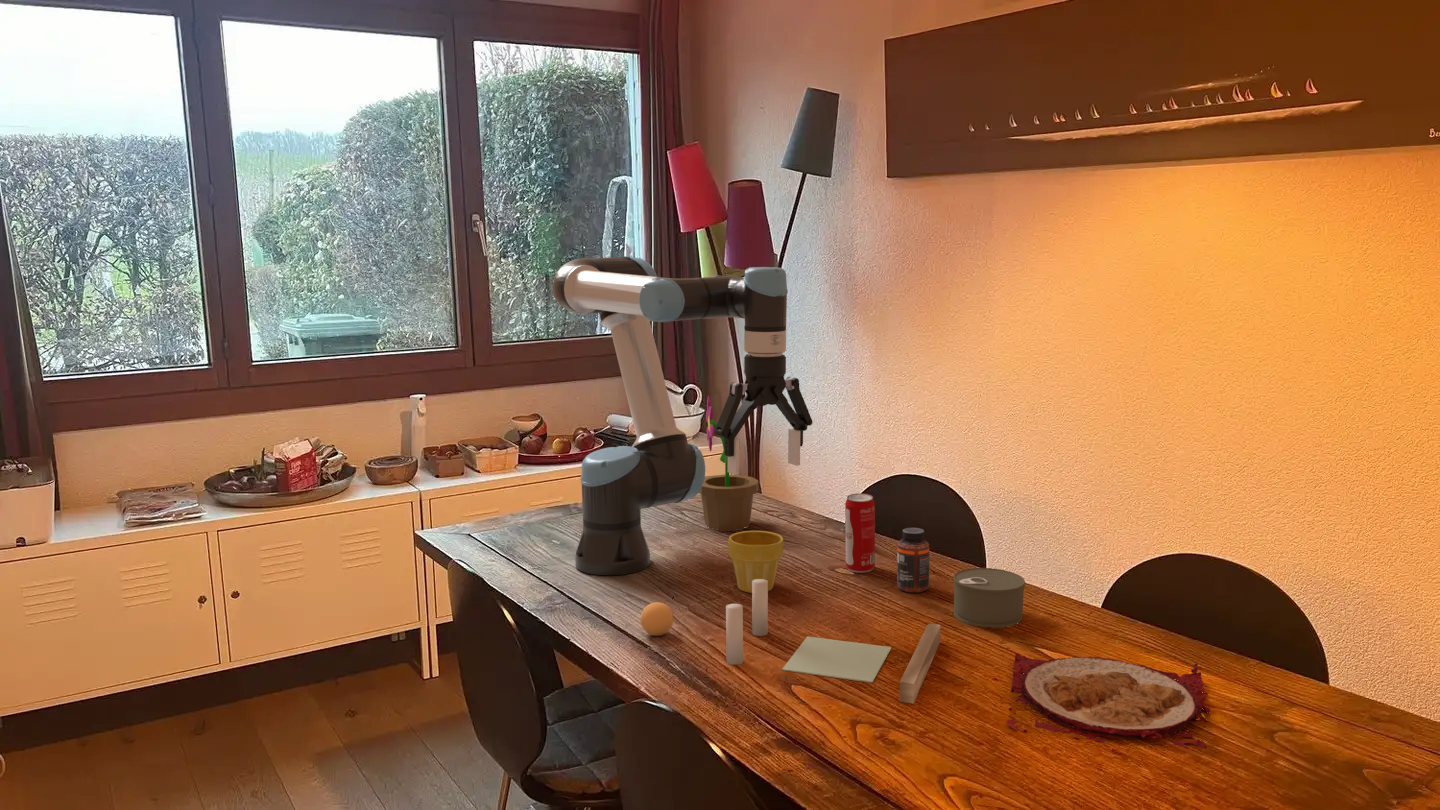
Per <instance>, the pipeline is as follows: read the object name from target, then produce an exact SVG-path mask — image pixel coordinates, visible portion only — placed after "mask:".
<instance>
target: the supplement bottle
mask: <svg viewBox="0 0 1440 810" xmlns="http://www.w3.org/2000/svg"><path fill="white" fill-rule="evenodd" d="M896 550H897V553H896V554H897V555H896V557H897V558H896V568H897V569H896V582H897V583H896V586H897V589H899V590H900V591H903V592H906V593H914V594H915V593H922V592H925V591H927V590H928V589H929V587H930V544H929V542H928V541H927V540H925V530H924V529H923V528H919V527H906V528H904V529H902V538H901V539H900V540H899V541H898V542H897V549H896Z"/></svg>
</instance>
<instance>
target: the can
mask: <svg viewBox="0 0 1440 810" xmlns="http://www.w3.org/2000/svg"><path fill="white" fill-rule="evenodd" d="M953 581H954V582H953V583H954V590H953V616H954V617H955V619H957V620H958V621H959V620H960V621H959V622H962V623H963V622H964V623H963V624H966V625H969V624H970V625H969V626H972V625H974V627H977V626H980V627H979V628H983V627H1007V626H1012V625H1015V624H1017V623H1019V622H1020V621H1021V620H1022V621H1023V618H1024V617H1023V611H1024V610H1023V609H1024V593H1025V591H1024V590H1025V585H1026V580H1025V578H1024V577H1023V576H1021V575H1019V574H1017V573H1015V572H1013V571H1009V570H1005V569H999V568H992V567H991V568H989V567H974V568H967V569H961V570H959V571H957V572H956V573H955V574H953ZM1022 621H1021V622H1022ZM1019 624H1020V623H1019ZM1015 626H1016V625H1015ZM1012 627H1013V626H1012ZM1007 628H1008V627H1007Z"/></svg>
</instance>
